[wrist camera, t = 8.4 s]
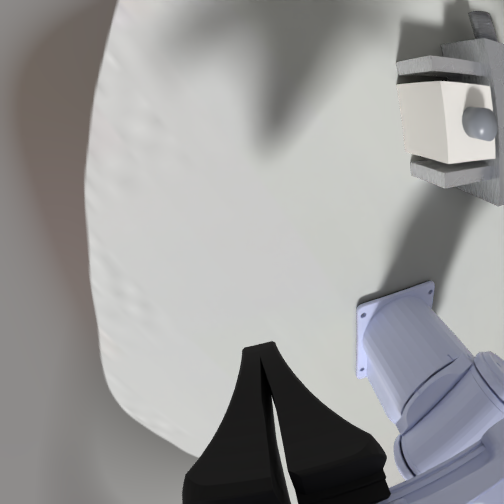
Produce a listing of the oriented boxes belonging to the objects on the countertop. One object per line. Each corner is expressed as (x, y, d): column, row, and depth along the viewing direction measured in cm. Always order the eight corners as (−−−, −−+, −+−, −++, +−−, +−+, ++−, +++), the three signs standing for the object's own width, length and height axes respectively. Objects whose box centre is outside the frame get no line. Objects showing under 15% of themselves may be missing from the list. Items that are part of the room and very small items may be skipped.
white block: (451, 146, 19) (510, 163, 13) (404, 152, 19) (464, 169, 13) (445, 86, 17) (505, 87, 11) (395, 84, 17) (456, 80, 11)
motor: (502, 178, 21) (539, 193, 16) (412, 197, 20) (453, 219, 16) (483, 25, 14) (522, 20, 10) (380, 3, 14) (419, -17, 10)
